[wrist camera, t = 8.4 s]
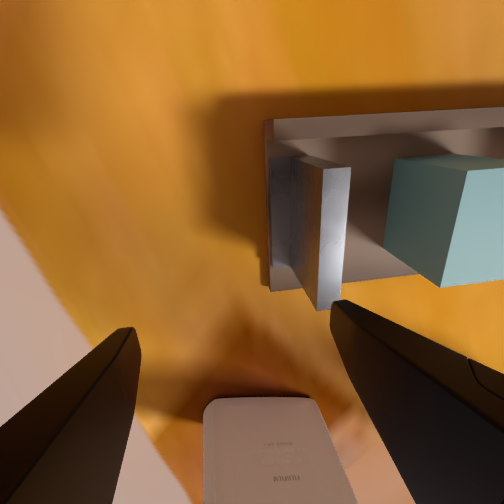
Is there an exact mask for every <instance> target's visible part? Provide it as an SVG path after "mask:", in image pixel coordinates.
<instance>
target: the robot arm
mask: <svg viewBox="0 0 504 504" xmlns="http://www.w3.org/2000/svg"><path fill="white" fill-rule="evenodd" d="M330 330H331V333H332V335H333V338H334V341H335V343H336V346H337V348H338V351H339V353H340V356H341V358H342V361H343V363H344V366H345V368H346V371H347V373H348V375H349V378H350V380H351V382H352V384H353V386H354V388H355V390H356V392H357V393H358V395H359V397H360V399H361V401H362V403H363V405H364V407H365V409H366V410H367V412H368V414H369V416H370V418H371V420H372V422H373V424H374V426H375V427H376V429H377V431H378V433H379V435H380V437H381V439H382V441H383V443H384V444H385V446H386V448H387V450H388V452H389V454H390V456H391V458H392V460H393V461H394V463H395V465H396V467H397V469H398V471H399V473H400V475H401V477H402V478H403V480H404V482H405V484H406V486H407V488H408V490H409V492H410V494H411V496H412V497H413V499H414V501H415V503H416V504H504V374H502V373H500V372H498V371H496V370H494V369H491V368H489V367H487V366H485V365H483V364H481V363H479V362H477V361H474V360H472V359H470V358H469V359H467V357H466V356H464V355H462V354H460V353H457V352H455V351H453V350H451V349H449V348H447V347H445V346H443V345H441V344H439V343H436V342H434V341H432V340H430V339H428V338H426V337H424V336H422V335H420V334H417V333H415V332H413V331H411V330H409V329H407V328H405V327H403V326H401V325H399V324H396V323H394V322H392V321H390V320H388V319H386V318H384V317H382V316H380V315H377V314H375V313H373V312H371V311H369V310H367V309H365V308H363V307H361V306H359V305H356V304H354V303H352V302H350V301H348V300H337V301H333V302H332V304H331V313H330ZM140 365H141V348H140V344H139V341H138V337H137V333H136V330H135V328H134V327H126V328H119V329H117V330H116V331H115V332H113V333H112V334H111V335H110V336H109V337H107V338H106V339H105V340H104V341H103V342H101V343H100V344H99V345H98V346H97V347H95V348H94V349H93V350H92V351H91V352H89V353H88V354H87V355H86V356H85V357H83V358H82V359H81V360H80V361H79V362H78V363H76V364H75V365H74V366H73V367H72V368H70V369H69V370H68V371H67V372H66V373H64V374H63V375H62V376H61V377H60V378H59V379H57V380H56V381H55V382H54V383H52V384H51V385H50V386H49V387H48V388H46V389H45V390H44V391H43V392H42V393H40V394H39V395H38V396H37V397H36V398H35V399H34V400H32V401H31V402H30V403H28V404H27V405H26V406H25V407H24V408H23V409H21V410H20V411H19V412H18V413H16V414H15V415H14V416H13V417H12V418H11V419H9V420H8V421H7V422H6V423H5V424H3V425H2V426H1V427H0V504H112V502H113V498H114V493H115V490H116V485H117V481H118V477H119V473H120V469H121V465H122V461H123V457H124V453H125V449H126V445H127V440H128V437H129V432H130V428H131V424H132V420H133V415H134V410H135V404H136V396H137V388H138V380H139V373H140Z"/></svg>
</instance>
